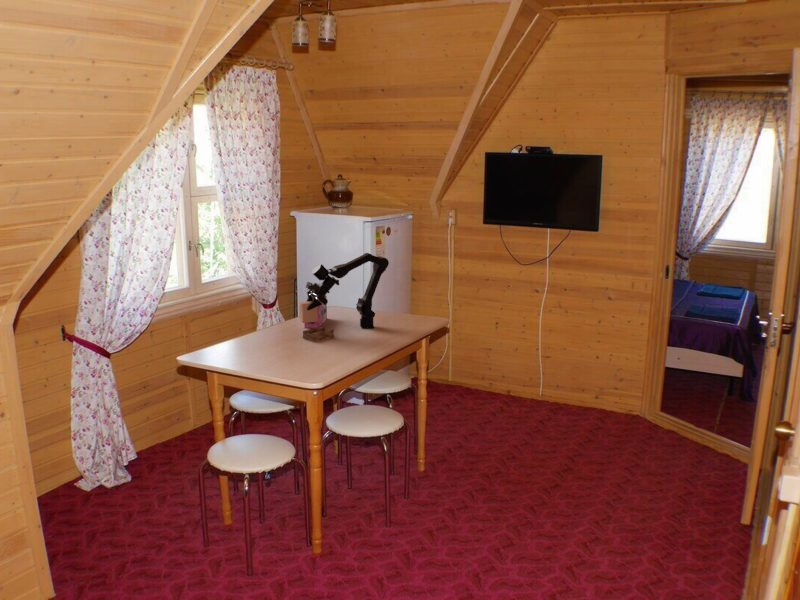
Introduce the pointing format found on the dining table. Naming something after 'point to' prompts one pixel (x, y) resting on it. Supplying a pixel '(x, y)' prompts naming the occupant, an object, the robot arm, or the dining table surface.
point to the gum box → (321, 316)
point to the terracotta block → (307, 313)
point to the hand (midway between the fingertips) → (305, 309)
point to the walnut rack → (318, 334)
